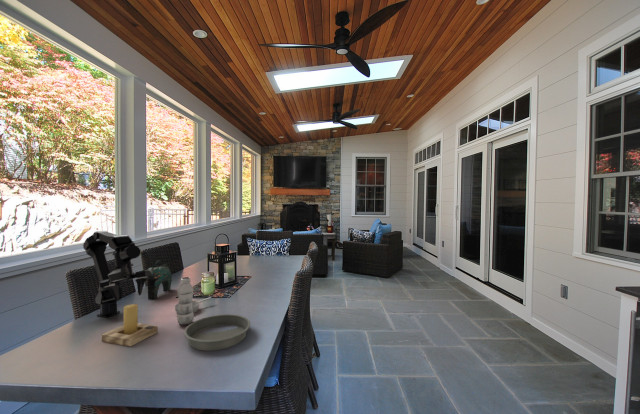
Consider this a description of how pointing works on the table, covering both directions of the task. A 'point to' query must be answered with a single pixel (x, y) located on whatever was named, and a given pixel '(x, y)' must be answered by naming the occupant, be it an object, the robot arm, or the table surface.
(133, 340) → the wooden slotted board
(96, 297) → the robot arm
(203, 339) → the cake pan
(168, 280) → the green elephant figurine
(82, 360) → the table surface
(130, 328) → the peg
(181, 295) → the plastic bottle
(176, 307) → the saucepan
